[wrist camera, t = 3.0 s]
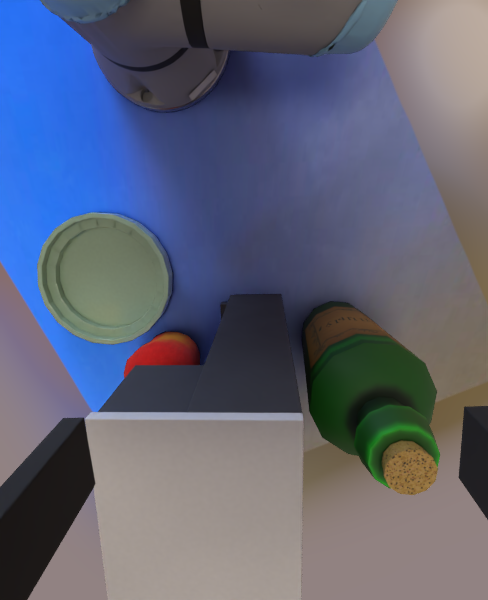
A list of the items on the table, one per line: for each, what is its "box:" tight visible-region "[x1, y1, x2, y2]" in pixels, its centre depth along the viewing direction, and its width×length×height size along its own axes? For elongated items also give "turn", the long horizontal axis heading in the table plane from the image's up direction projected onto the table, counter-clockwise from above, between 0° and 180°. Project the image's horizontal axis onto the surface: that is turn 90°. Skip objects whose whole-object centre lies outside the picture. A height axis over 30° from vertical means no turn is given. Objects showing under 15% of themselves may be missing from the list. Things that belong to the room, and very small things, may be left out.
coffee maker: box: [85, 294, 304, 600], centre depth 39 cm, size 12×16×31 cm
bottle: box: [302, 302, 440, 495], centre depth 39 cm, size 11×11×28 cm
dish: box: [37, 212, 173, 344], centre depth 51 cm, size 16×16×3 cm
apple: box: [124, 332, 200, 378], centre depth 48 cm, size 9×8×12 cm
